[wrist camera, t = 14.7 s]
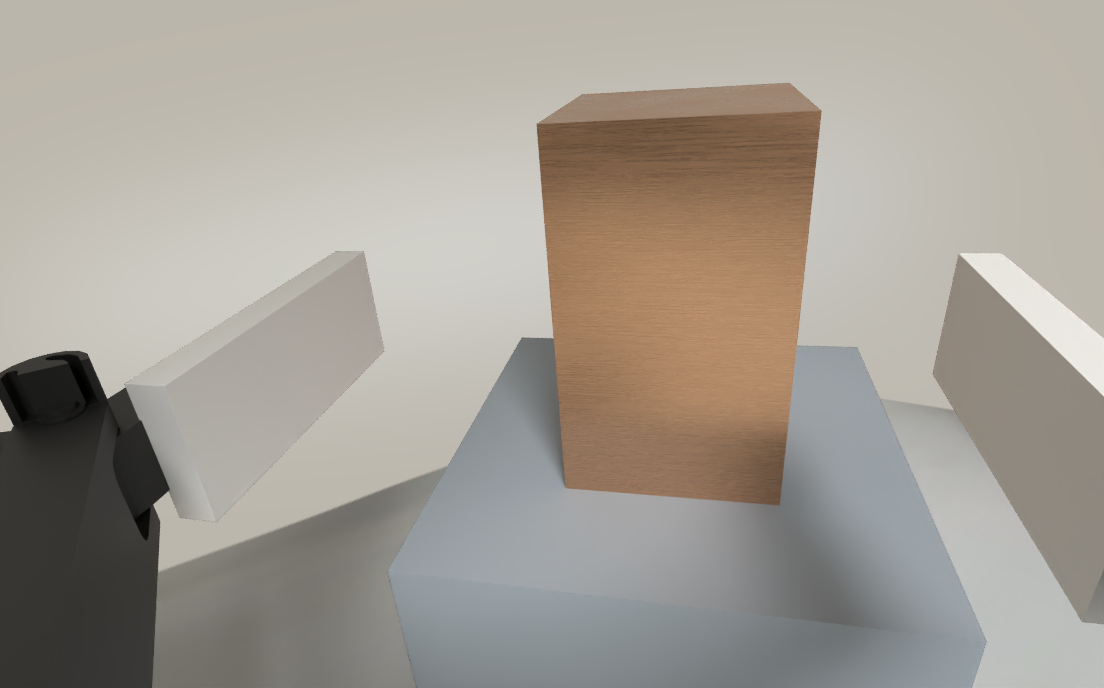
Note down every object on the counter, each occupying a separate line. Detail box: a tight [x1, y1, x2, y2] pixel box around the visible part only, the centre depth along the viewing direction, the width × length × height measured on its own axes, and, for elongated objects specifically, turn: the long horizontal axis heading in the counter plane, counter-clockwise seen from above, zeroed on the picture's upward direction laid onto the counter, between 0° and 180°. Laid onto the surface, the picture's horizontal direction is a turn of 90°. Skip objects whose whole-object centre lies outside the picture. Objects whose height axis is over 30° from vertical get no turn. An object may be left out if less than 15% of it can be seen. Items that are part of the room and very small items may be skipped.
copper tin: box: [537, 83, 821, 505], centre depth 22 cm, size 7×7×12 cm
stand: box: [388, 338, 987, 688], centre depth 27 cm, size 16×16×10 cm
